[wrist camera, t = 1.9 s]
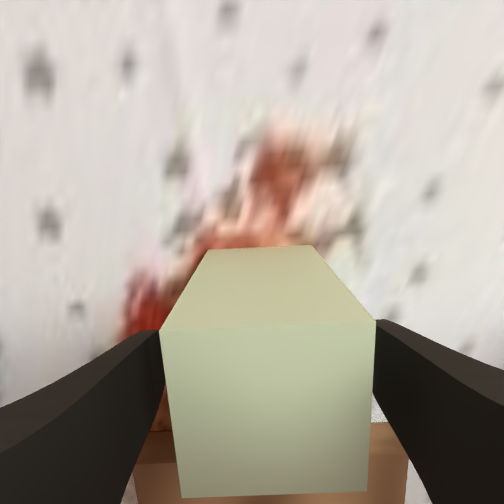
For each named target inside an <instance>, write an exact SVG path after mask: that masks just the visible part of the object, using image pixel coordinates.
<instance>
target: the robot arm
mask: <svg viewBox="0 0 504 504" xmlns="http://www.w3.org/2000/svg"><path fill="white" fill-rule="evenodd" d="M375 321H376V333H375V351H374V370H373V388H372V392H373V394H374V397H375V399H376V401H377V403H378V404H379V406H380V408H381V410H382V412H383V413H384V415H385V417H386V419H387V420H388V422H389V424H390V426H391V427H392V429H393V431H394V433H395V434H396V436H397V438H398V439H399V441H400V443H401V445H402V446H403V448H404V450H405V452H406V453H407V455H408V457H409V459H410V460H411V462H412V464H413V465H414V467H415V469H416V471H417V473H418V475H419V477H420V479H421V481H422V483H423V485H424V487H425V489H426V491H427V493H428V495H429V498H430V500H431V502H432V504H504V370H502V369H499V368H496V367H493V366H491V365H488V364H485V363H483V362H480V361H478V360H475V359H473V358H471V357H468V356H466V355H463V354H461V353H459V352H456V351H454V350H452V349H450V348H447V347H445V346H443V345H441V344H439V343H436V342H434V341H432V340H430V339H428V338H426V337H424V336H422V335H420V334H417V333H415V332H413V331H411V330H409V329H407V328H405V327H403V326H401V325H398V324H396V323H394V322H391V321H388V320H385V319H382V320H375ZM165 382H166V381H165V374H164V367H163V359H162V352H161V345H160V338H159V330H150V331H140V332H138V333H136V334H134V335H132V336H130V337H129V338H127V339H125V340H124V341H122V342H121V343H119V344H117V345H116V346H114V347H113V348H111V349H110V350H108V351H106V352H105V353H103V354H102V355H100V356H99V357H97V358H95V359H94V360H92V361H90V362H89V363H87V364H85V365H84V366H82V367H80V368H78V369H77V370H75V371H73V372H72V373H70V374H68V375H66V376H65V377H63V378H61V379H59V380H58V381H56V382H54V383H52V384H50V385H48V386H46V387H44V388H42V389H40V390H38V391H36V392H34V393H32V394H30V395H28V396H26V397H24V398H22V399H20V400H17V401H15V402H13V403H11V404H8V405H6V406H3V407H1V408H0V504H120V503H121V500H122V497H123V494H124V491H125V489H126V486H127V483H128V481H129V478H130V476H131V473H132V471H133V469H134V466H135V464H136V461H137V459H138V457H139V454H140V452H141V450H142V447H143V445H144V442H145V440H146V438H147V435H148V433H149V430H150V428H151V426H152V423H153V421H154V418H155V416H156V413H157V411H158V408H159V404H160V401H161V397H162V393H163V390H164V386H165Z"/></svg>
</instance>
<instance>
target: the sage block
mask: <svg viewBox="0 0 504 504" xmlns="http://www.w3.org/2000/svg"><path fill="white" fill-rule="evenodd" d="M375 333H376V321H375V320H374V319H373V317H372V316H371V315H370V314H369V313H368V311H367V310H366V309H365V308H364V307H363V306H362V304H361V303H360V302H359V301H358V300H357V299H356V297H355V296H354V295H353V294H352V293H351V291H350V290H349V289H348V288H347V287H346V286H345V284H344V283H343V282H342V281H341V280H340V279H339V277H338V276H337V275H336V274H335V273H334V271H333V270H332V269H331V268H330V267H329V266H328V264H327V263H326V262H325V261H324V260H323V259H322V257H321V256H320V255H319V254H318V253H317V251H316V250H315V249H314V248H313V247H312V246H311V245H297V246H276V247H256V248H235V249H214V250H208V251H207V252H206V254H205V256H204V257H203V259H202V261H201V262H200V264H199V266H198V267H197V269H196V271H195V272H194V274H193V276H192V277H191V279H190V281H189V282H188V284H187V286H186V287H185V289H184V291H183V292H182V294H181V296H180V297H179V299H178V301H177V302H176V304H175V306H174V307H173V309H172V311H171V312H170V314H169V315H168V317H167V319H166V320H165V322H164V324H163V325H162V327H161V329H160V330H159V335H160V342H161V350H162V357H163V364H164V372H165V379H166V386H167V393H168V401H169V408H170V415H171V423H172V430H173V437H174V444H175V452H176V459H177V466H178V474H179V481H180V488H181V495H182V498H201V497H228V496H254V495H281V494H308V493H335V492H362V491H367V481H368V462H369V444H370V425H371V407H372V388H373V370H374V351H375Z"/></svg>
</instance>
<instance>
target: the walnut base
mask: <svg viewBox="0 0 504 504" xmlns="http://www.w3.org/2000/svg"><path fill="white" fill-rule="evenodd" d="M408 459H409V457H408V455H407V453H406V452H405V450H404V448H403V446H402V445H401V443H400V441H399V439H398V438H397V436H396V434H395V433H394V431H393V429H392V427H391V426H390V424H389V422H385V423H371V425H370V444H369V462H368V481H367V491H362V492H335V493H308V494H281V495H254V496H228V497H201V498H182V495H181V488H180V481H179V474H178V466H177V459H176V452H175V444H174V437H173V431H163V432H149V433H148V435H147V438H146V440H145V442H144V445H143V447H142V450H141V452H140V454H139V457H138V459H137V461H136V464H135V466H134V469H133V476H134V481H135V487H136V492H137V498H138V503H139V504H404V501H405V491H406V480H407V470H408Z"/></svg>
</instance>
